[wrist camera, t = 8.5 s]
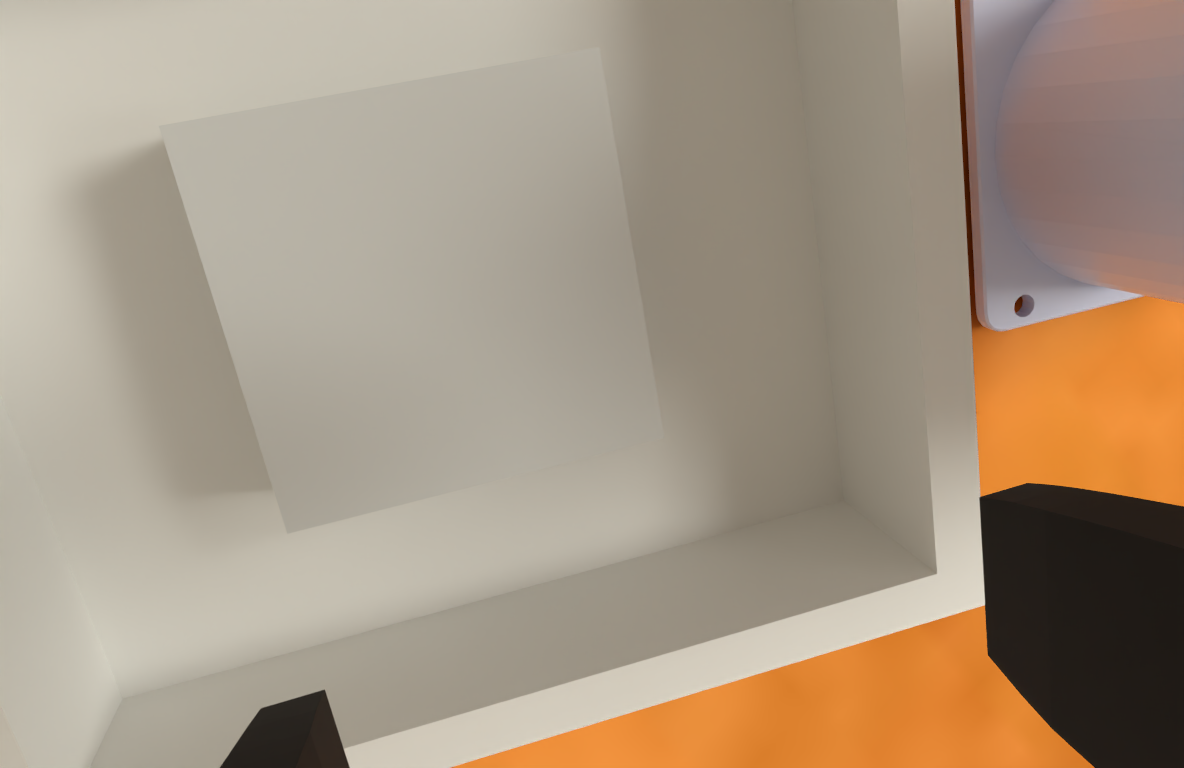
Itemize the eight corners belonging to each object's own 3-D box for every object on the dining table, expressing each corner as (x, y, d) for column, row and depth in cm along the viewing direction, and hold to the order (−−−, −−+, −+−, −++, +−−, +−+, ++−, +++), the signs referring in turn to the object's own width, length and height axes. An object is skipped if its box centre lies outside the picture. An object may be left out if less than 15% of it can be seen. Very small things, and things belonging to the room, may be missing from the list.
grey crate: (799, -235, 17) (935, -359, 13) (869, 514, 22) (986, 604, 17) (-245, -97, 14) (-517, -200, 10) (100, 729, 19) (16, 899, 15)
